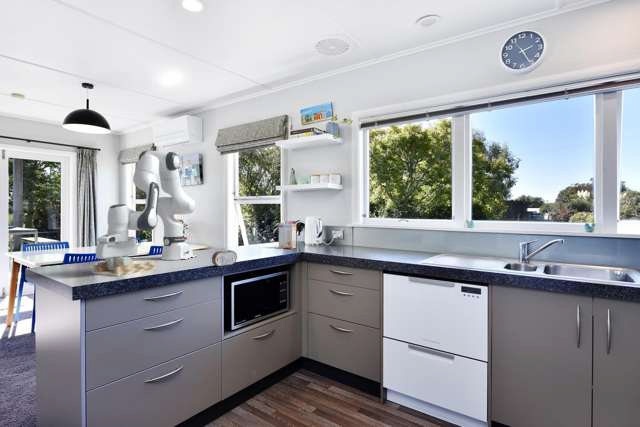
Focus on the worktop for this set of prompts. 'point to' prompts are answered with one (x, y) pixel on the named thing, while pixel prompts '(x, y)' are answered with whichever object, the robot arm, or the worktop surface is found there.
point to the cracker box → (287, 235)
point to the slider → (118, 262)
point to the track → (123, 268)
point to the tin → (224, 258)
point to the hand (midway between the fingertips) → (117, 265)
